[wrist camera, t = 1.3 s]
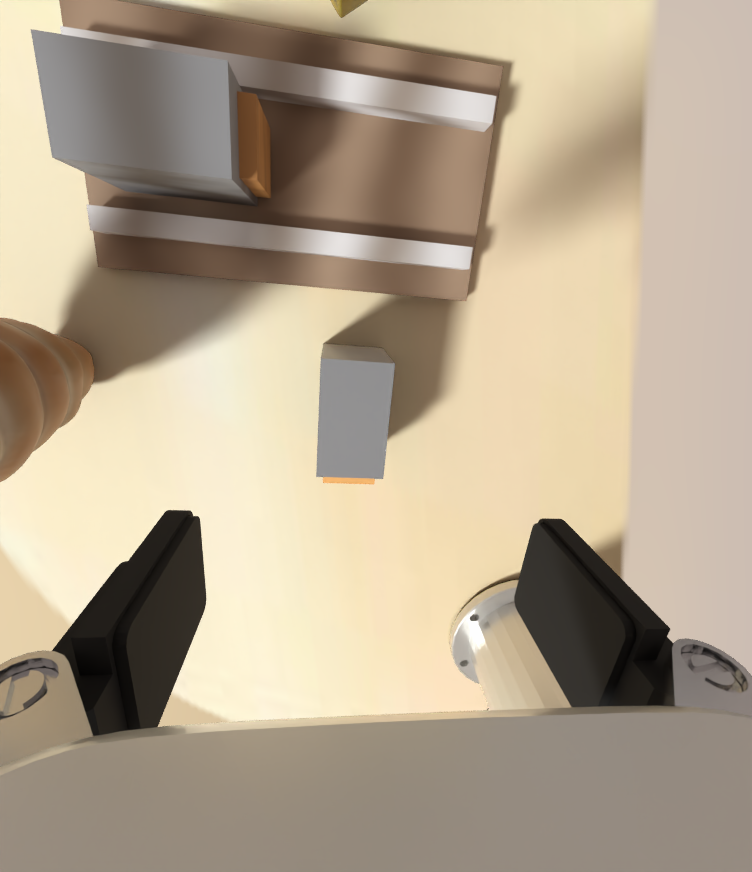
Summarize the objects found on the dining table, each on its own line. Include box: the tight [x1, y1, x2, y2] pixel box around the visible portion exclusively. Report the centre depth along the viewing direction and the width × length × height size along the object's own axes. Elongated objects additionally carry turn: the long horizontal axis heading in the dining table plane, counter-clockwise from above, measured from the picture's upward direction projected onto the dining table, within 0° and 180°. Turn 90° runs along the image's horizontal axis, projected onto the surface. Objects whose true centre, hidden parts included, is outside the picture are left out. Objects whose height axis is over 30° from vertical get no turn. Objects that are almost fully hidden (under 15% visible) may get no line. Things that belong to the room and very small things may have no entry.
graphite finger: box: [316, 343, 395, 484], centre depth 25 cm, size 4×8×6 cm, turn 175°
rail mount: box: [31, 0, 503, 301], centre depth 19 cm, size 22×12×7 cm, turn 85°
